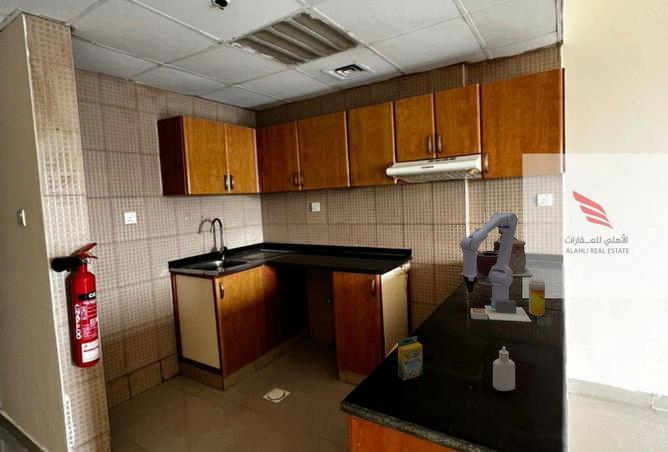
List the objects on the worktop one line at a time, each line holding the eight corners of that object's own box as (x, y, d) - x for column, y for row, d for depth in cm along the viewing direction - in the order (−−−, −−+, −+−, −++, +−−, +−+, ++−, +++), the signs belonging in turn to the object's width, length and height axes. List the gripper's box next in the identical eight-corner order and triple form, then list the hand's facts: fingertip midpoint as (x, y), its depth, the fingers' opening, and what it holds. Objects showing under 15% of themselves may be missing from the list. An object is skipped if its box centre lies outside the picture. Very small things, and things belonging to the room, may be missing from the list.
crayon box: (403, 381, 106) (402, 344, 104) (397, 376, 108) (396, 340, 107) (423, 375, 108) (422, 339, 107) (417, 371, 111) (416, 335, 110)
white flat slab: (484, 306, 168) (484, 305, 168) (521, 307, 164) (521, 307, 164) (489, 319, 151) (489, 318, 151) (531, 321, 147) (531, 321, 147)
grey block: (490, 309, 162) (490, 299, 161) (514, 311, 159) (514, 300, 159) (491, 312, 159) (491, 301, 158) (516, 313, 156) (516, 302, 155)
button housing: (470, 313, 159) (470, 308, 159) (485, 314, 157) (485, 309, 157) (471, 318, 153) (471, 313, 153) (487, 319, 151) (487, 313, 151)
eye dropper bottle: (493, 382, 103) (493, 342, 102) (514, 385, 101) (514, 345, 99) (492, 389, 99) (492, 348, 98) (515, 394, 97) (515, 352, 96)
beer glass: (546, 316, 152) (547, 282, 150) (531, 316, 153) (531, 282, 151) (541, 311, 158) (541, 279, 156) (526, 311, 159) (526, 279, 157)
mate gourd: (503, 280, 211) (503, 248, 210) (500, 286, 200) (500, 251, 198) (476, 278, 220) (475, 246, 218) (471, 283, 208) (471, 250, 206)
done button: (473, 312, 158) (473, 308, 157) (483, 313, 156) (482, 308, 156) (474, 315, 154) (474, 311, 154) (483, 316, 153) (483, 311, 153)
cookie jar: (526, 269, 238) (526, 222, 235) (534, 278, 215) (534, 226, 212) (486, 268, 246) (486, 222, 243) (490, 276, 223) (489, 226, 220)
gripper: (459, 260, 170) (460, 288, 171) (461, 266, 156) (461, 296, 157) (475, 260, 168) (475, 288, 169) (478, 267, 154) (478, 297, 155)
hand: (470, 292), depth 163 cm, fingers closed
